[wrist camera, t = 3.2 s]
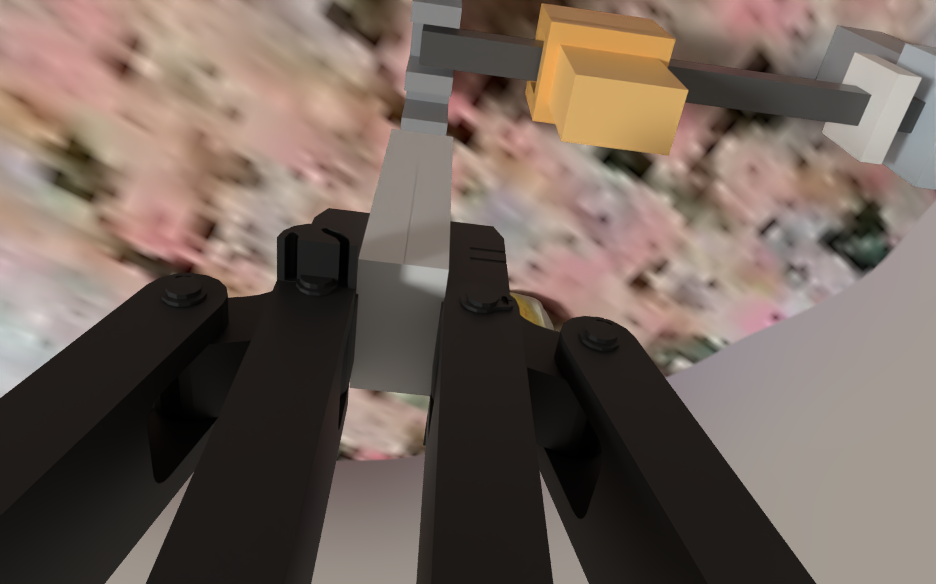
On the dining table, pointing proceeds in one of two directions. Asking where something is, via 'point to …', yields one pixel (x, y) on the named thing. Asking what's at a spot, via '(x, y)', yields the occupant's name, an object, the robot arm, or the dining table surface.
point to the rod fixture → (719, 86)
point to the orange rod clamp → (606, 80)
